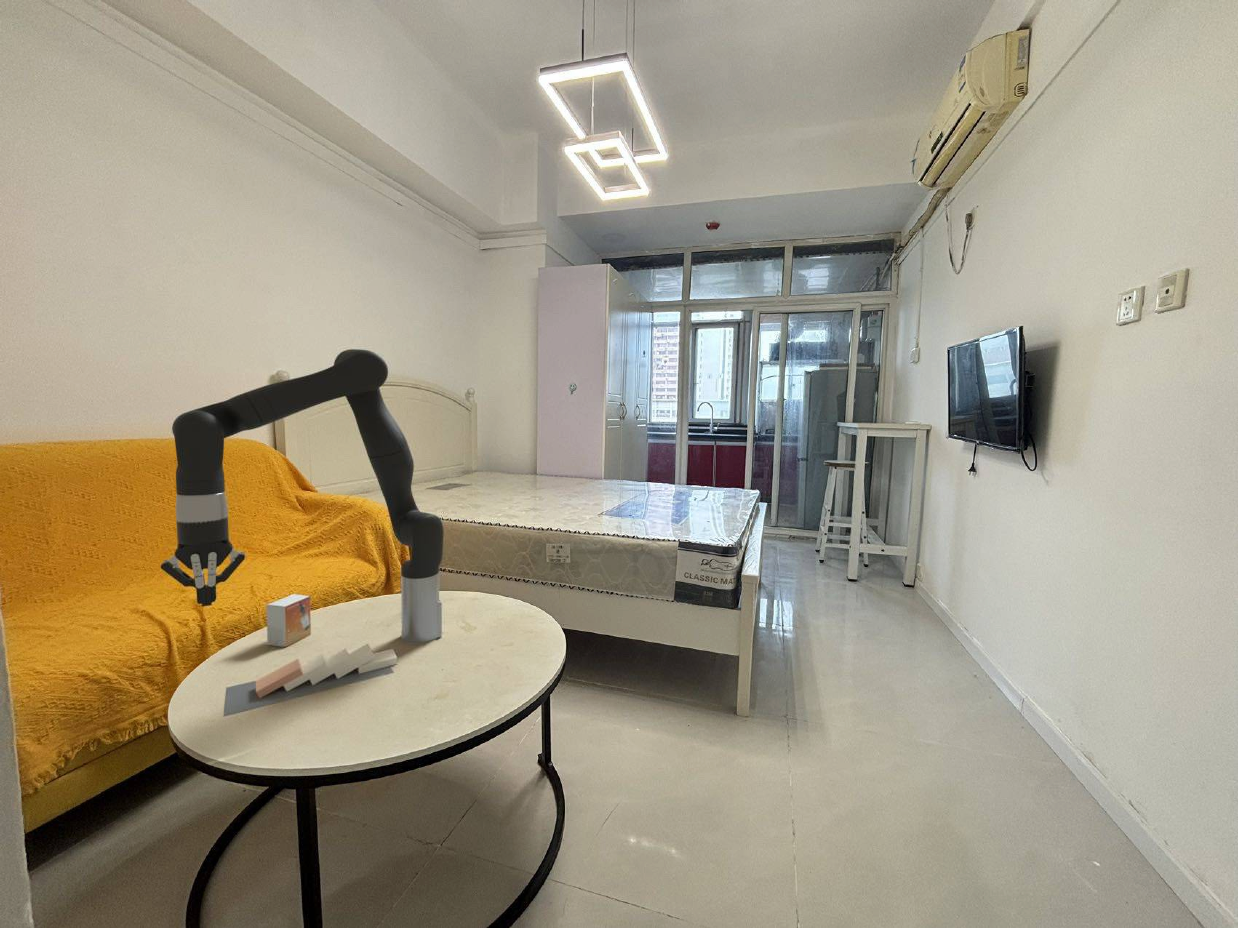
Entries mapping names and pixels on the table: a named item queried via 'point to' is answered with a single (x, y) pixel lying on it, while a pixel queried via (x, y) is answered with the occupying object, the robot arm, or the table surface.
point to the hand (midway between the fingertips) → (207, 604)
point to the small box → (288, 620)
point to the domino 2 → (309, 671)
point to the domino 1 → (278, 678)
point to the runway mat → (248, 699)
